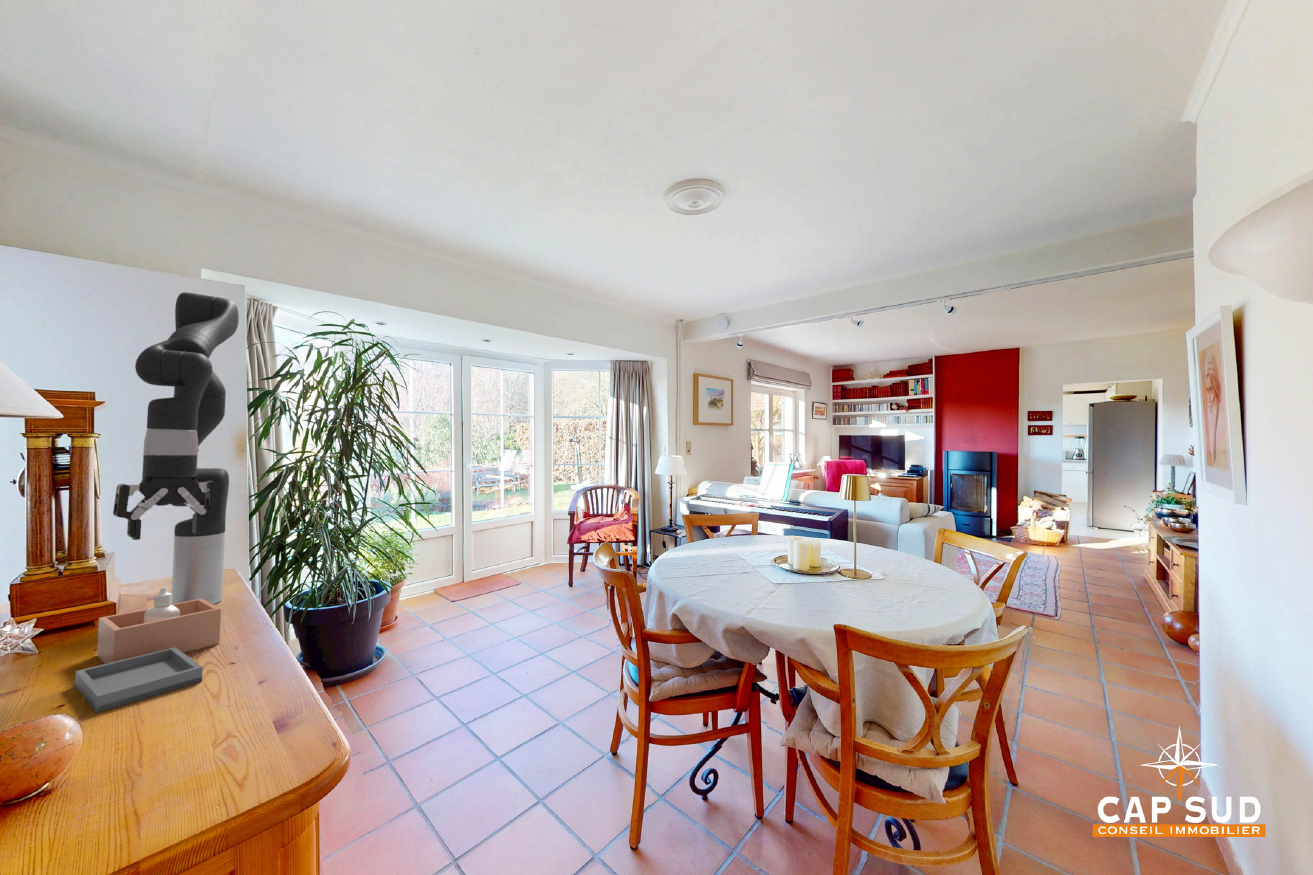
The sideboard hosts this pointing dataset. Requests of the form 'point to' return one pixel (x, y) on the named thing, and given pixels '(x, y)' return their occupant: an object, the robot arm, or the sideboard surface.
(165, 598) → the eye dropper bottle
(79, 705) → the sideboard surface
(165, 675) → the charcoal tray
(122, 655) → the open clay trough
